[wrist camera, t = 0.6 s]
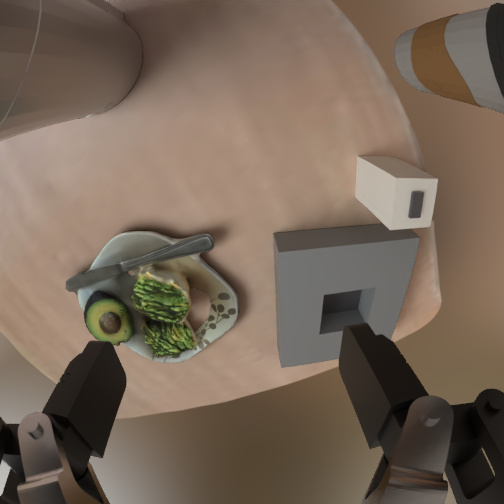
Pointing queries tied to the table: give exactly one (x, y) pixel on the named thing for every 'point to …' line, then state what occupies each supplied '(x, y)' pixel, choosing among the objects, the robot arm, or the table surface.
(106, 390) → the robot arm
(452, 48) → the coffee cup
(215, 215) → the table surface
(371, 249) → the outlet box
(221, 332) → the avocado toast plate
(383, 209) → the block
